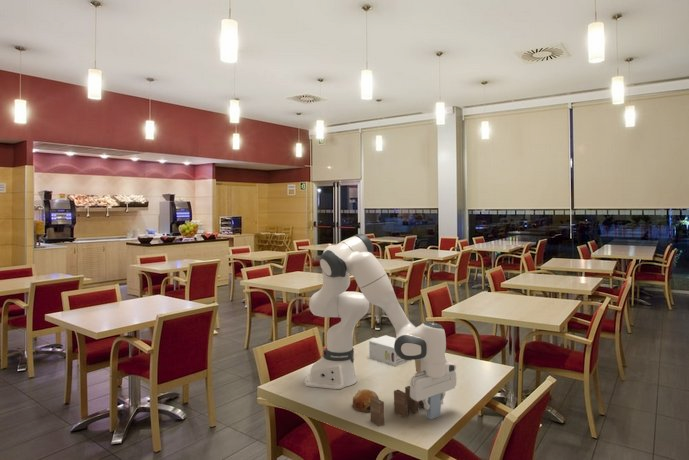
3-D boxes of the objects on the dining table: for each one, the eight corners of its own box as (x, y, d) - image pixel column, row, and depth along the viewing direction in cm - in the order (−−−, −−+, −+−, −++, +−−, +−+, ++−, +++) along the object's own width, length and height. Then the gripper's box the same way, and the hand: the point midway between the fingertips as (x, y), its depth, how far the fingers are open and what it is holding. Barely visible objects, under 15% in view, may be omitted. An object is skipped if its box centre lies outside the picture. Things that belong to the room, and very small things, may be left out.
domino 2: (403, 417, 160) (403, 395, 159) (394, 412, 164) (393, 390, 163) (407, 415, 161) (407, 393, 160) (398, 410, 165) (398, 389, 165)
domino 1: (379, 426, 153) (379, 403, 153) (370, 420, 158) (370, 398, 157) (384, 424, 155) (383, 401, 154) (375, 419, 159) (374, 397, 158)
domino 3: (414, 413, 163) (414, 391, 162) (405, 408, 167) (405, 387, 167) (418, 411, 164) (418, 390, 164) (409, 406, 168) (409, 385, 168)
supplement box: (368, 358, 223) (368, 340, 222) (386, 352, 232) (385, 334, 231) (395, 367, 211) (395, 347, 210) (412, 360, 220) (412, 341, 219)
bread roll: (379, 412, 172) (378, 390, 175) (379, 411, 163) (379, 388, 166) (353, 412, 173) (353, 390, 176) (352, 411, 163) (352, 388, 166)
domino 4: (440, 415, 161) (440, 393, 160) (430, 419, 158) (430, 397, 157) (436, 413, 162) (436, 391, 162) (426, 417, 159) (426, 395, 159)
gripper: (418, 377, 151) (418, 417, 151) (459, 364, 162) (459, 401, 163) (405, 372, 156) (405, 410, 156) (446, 359, 167) (446, 396, 168)
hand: (433, 406), depth 160 cm, fingers closed on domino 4, 5 cm apart
